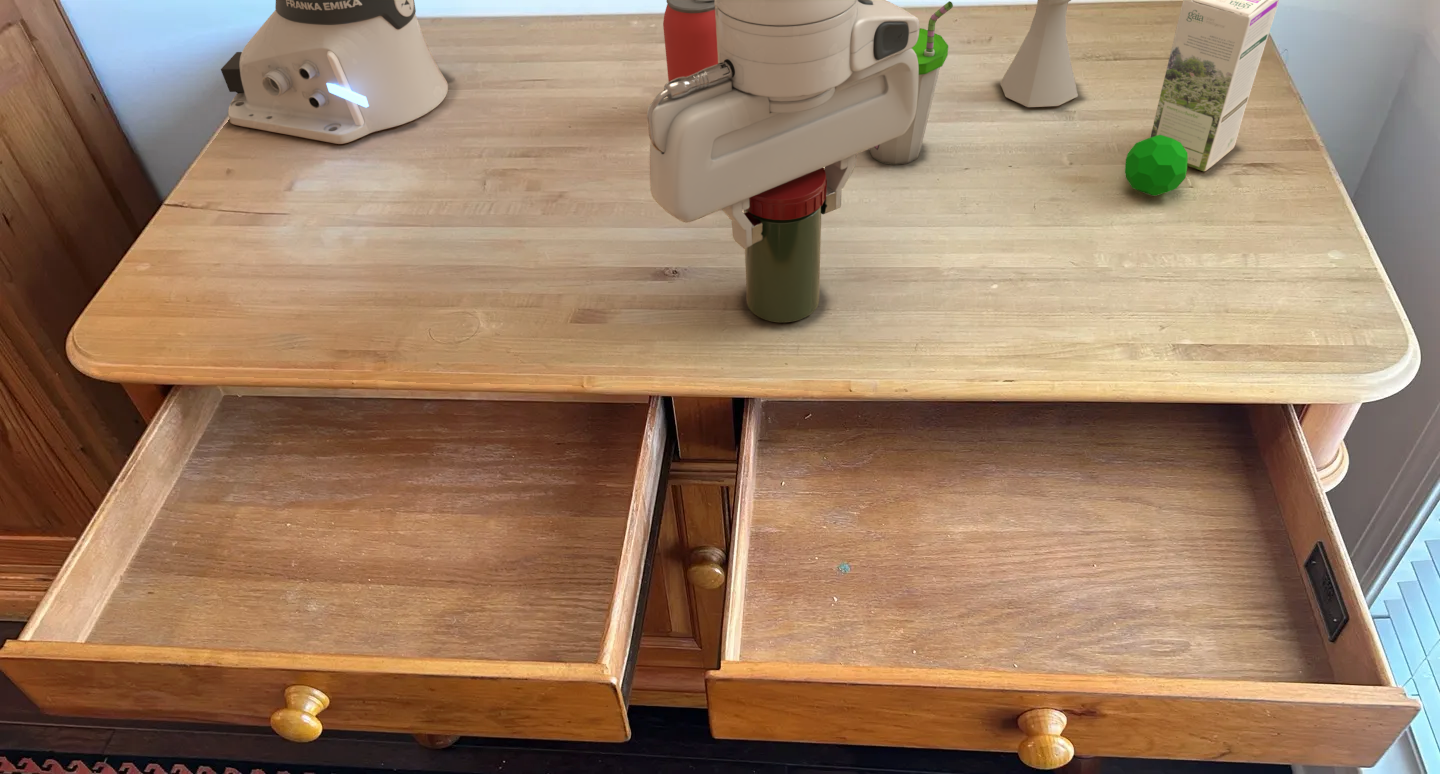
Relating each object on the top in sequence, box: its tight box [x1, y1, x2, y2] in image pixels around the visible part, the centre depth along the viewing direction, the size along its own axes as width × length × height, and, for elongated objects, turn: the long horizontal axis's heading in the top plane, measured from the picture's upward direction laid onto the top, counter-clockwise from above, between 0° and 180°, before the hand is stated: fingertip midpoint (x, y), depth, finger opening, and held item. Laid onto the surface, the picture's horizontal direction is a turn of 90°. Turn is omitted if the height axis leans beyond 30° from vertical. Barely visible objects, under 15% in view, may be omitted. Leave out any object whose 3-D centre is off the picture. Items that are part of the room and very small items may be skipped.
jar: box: [742, 207, 822, 323], centre depth 78 cm, size 6×6×10 cm
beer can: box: [662, 0, 718, 82], centre depth 100 cm, size 7×7×12 cm
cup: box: [868, 1, 954, 166], centre depth 92 cm, size 8×8×15 cm
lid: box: [746, 167, 827, 220], centre depth 74 cm, size 6×6×2 cm
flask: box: [999, 0, 1079, 108], centre depth 101 cm, size 7×7×10 cm
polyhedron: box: [1124, 135, 1188, 197], centre depth 89 cm, size 5×5×5 cm
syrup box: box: [1149, 0, 1280, 172], centre depth 90 cm, size 6×6×14 cm
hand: (788, 224), depth 76 cm, fingers closed on jar, 5 cm apart
